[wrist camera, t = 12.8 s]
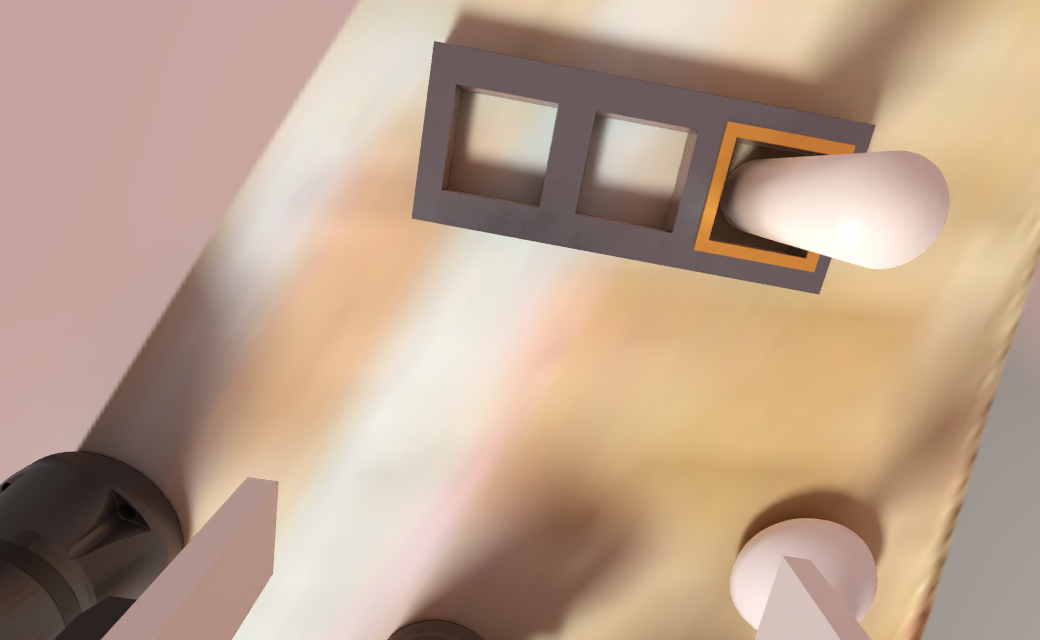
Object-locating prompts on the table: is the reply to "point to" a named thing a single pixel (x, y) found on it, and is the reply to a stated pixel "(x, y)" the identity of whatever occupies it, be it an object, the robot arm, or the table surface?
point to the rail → (578, 102)
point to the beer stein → (434, 632)
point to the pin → (842, 204)
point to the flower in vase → (804, 538)
